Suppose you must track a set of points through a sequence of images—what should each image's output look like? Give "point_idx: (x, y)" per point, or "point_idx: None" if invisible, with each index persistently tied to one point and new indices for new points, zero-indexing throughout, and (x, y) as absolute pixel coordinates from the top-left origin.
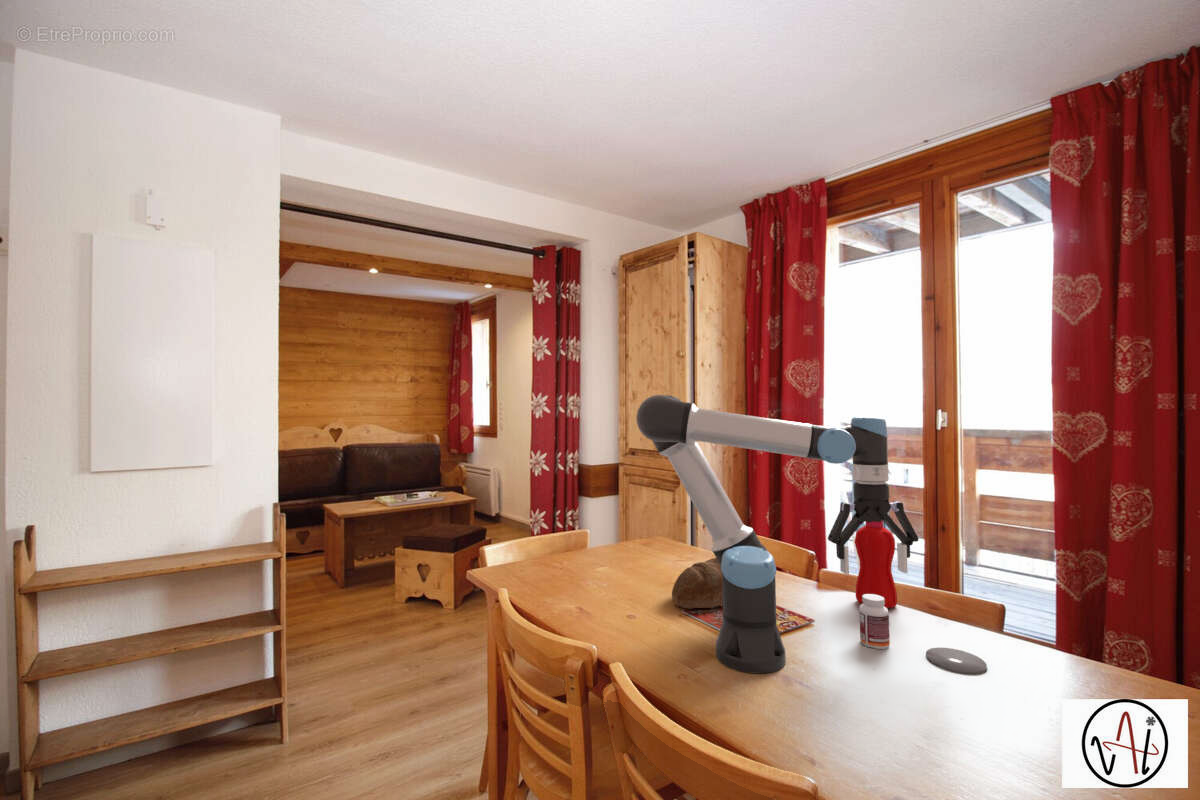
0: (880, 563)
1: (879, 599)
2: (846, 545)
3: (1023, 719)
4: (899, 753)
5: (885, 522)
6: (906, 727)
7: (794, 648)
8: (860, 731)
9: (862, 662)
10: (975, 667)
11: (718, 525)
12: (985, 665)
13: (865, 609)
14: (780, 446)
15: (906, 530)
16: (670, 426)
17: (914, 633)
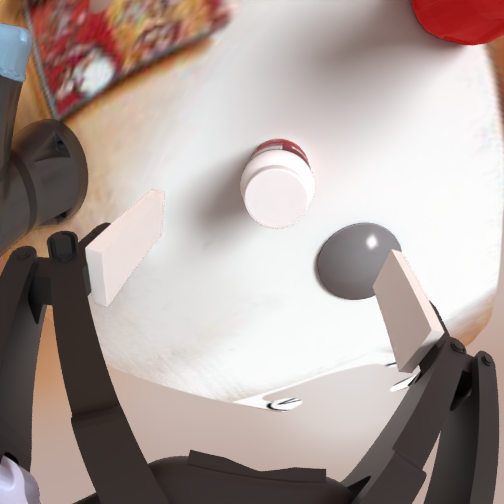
0: (501, 15)
1: (279, 221)
2: (104, 292)
3: (293, 364)
4: (140, 356)
5: (369, 464)
6: (165, 341)
7: (114, 148)
8: (121, 331)
9: (201, 222)
10: (360, 292)
11: None
12: None
13: (243, 196)
14: None
15: (457, 413)
16: None
17: (402, 151)
